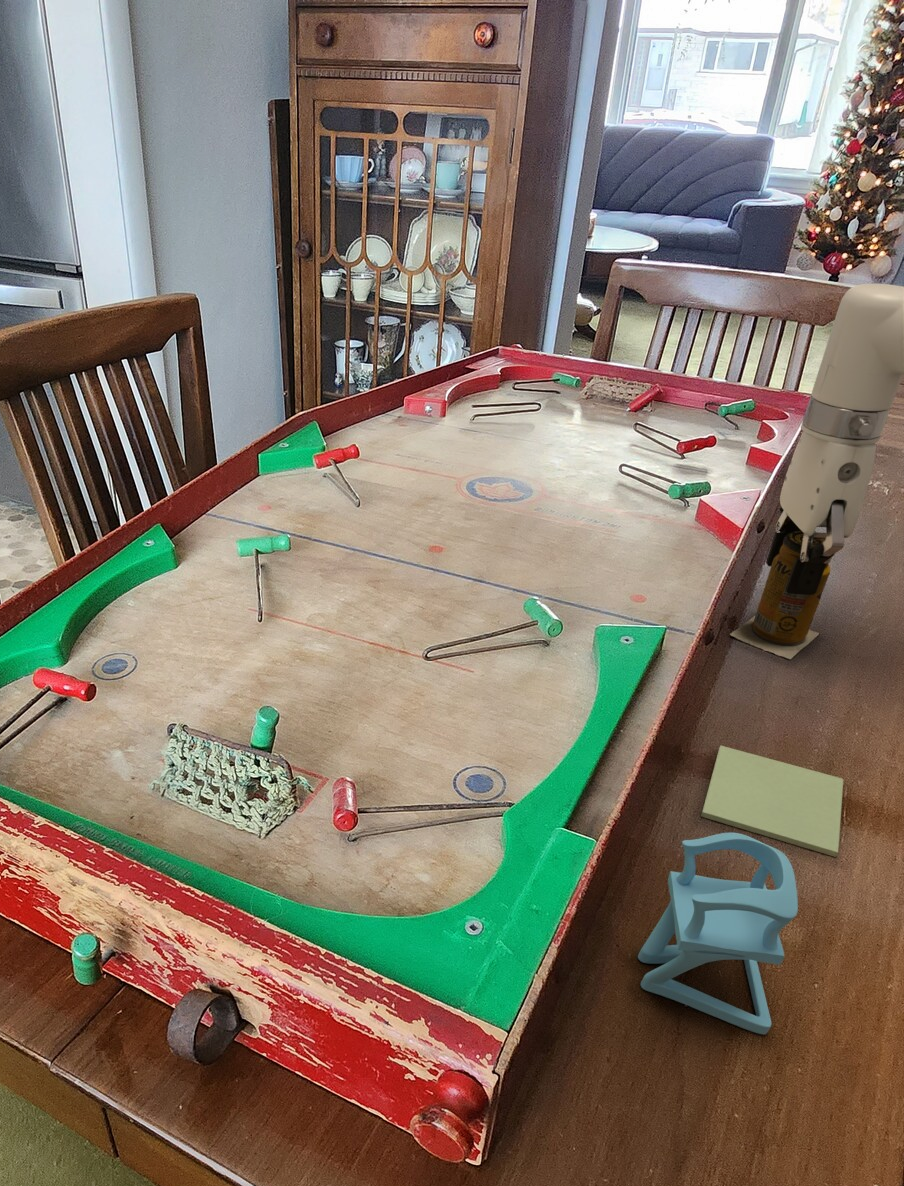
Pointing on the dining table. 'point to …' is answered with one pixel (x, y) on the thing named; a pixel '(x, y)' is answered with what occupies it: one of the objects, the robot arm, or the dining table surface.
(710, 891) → the chair
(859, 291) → the robot arm
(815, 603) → the condiment
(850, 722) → the dining table surface
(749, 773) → the mat
